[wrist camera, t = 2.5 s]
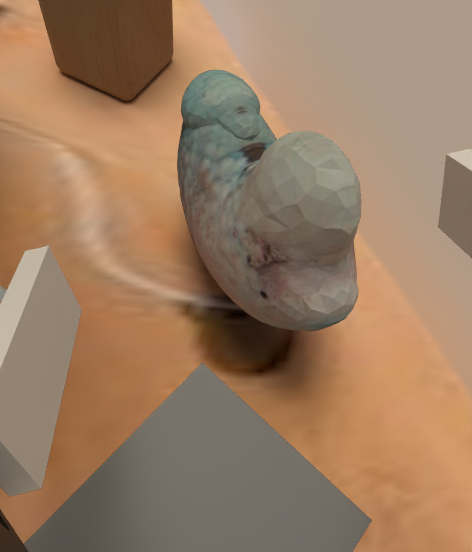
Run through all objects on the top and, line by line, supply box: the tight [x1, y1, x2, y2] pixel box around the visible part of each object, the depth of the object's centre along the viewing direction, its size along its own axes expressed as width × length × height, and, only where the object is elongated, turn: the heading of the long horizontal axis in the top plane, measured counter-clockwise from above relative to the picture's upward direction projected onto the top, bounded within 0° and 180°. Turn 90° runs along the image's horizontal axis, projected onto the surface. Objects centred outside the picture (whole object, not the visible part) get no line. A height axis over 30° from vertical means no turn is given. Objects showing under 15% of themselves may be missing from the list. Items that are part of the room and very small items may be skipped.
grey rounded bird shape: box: [177, 70, 361, 331], centre depth 31 cm, size 21×9×20 cm, turn 24°
